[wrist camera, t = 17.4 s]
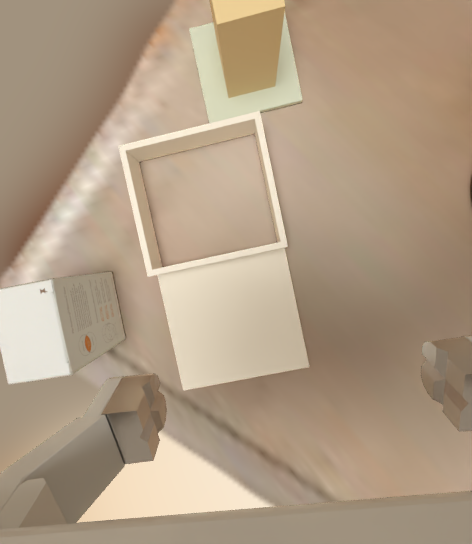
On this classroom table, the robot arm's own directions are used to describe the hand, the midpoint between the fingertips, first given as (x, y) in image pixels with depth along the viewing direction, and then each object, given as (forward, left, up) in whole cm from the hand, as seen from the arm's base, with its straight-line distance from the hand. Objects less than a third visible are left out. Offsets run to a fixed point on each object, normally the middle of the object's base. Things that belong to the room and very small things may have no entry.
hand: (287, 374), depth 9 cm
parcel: (-3, -24, -23) cm, 33 cm away
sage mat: (-3, -24, -24) cm, 34 cm away
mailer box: (+4, -4, -24) cm, 24 cm away
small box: (+19, -2, -24) cm, 31 cm away
